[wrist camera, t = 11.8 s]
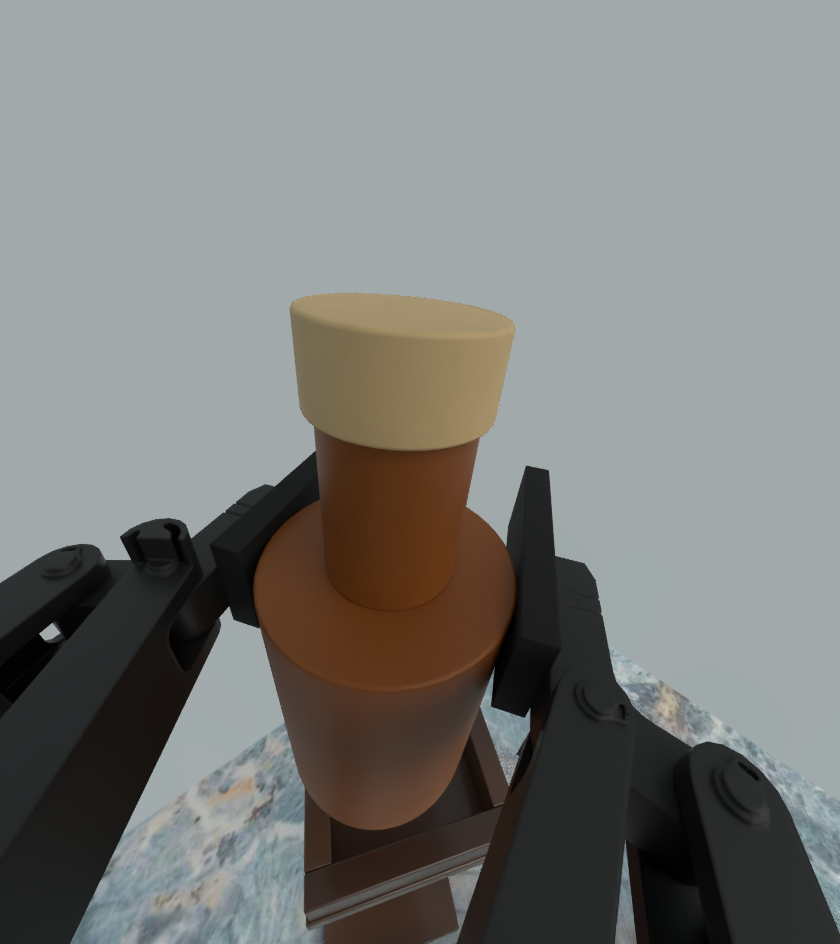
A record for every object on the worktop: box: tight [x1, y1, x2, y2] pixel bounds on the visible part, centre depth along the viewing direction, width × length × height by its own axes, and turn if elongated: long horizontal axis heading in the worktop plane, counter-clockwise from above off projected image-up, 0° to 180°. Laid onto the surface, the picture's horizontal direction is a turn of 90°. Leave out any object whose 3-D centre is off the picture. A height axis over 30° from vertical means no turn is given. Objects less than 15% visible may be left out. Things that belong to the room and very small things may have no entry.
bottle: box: [253, 293, 517, 830], centre depth 9 cm, size 6×6×13 cm
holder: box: [304, 707, 509, 944], centre depth 24 cm, size 10×10×25 cm
